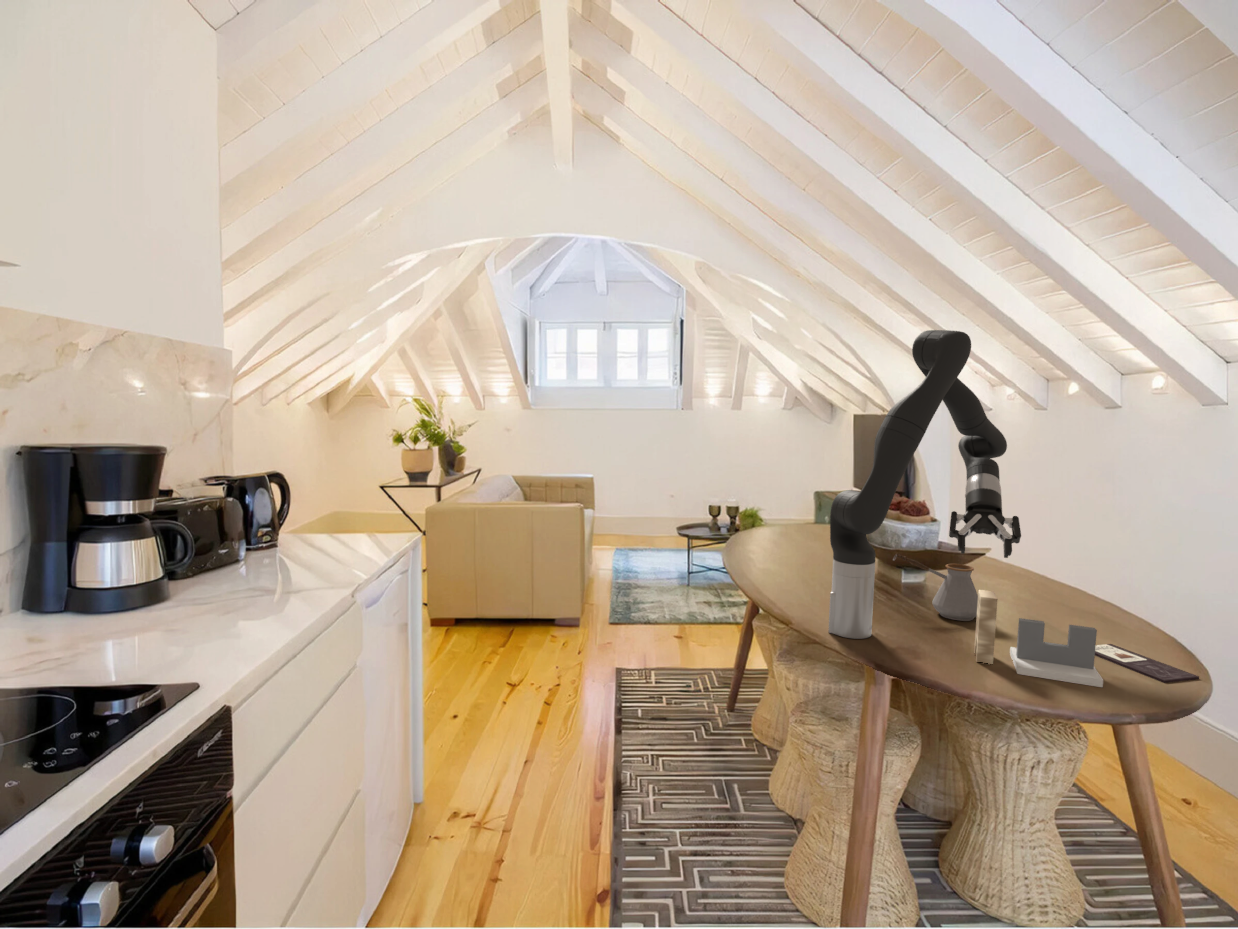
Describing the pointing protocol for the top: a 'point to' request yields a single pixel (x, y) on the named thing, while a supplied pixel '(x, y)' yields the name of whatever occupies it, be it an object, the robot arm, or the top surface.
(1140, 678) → the top surface
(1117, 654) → the chocolate bar
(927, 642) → the top surface
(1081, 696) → the top surface
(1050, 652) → the grey notched stand
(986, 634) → the birch slotted plate
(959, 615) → the coffee pot
